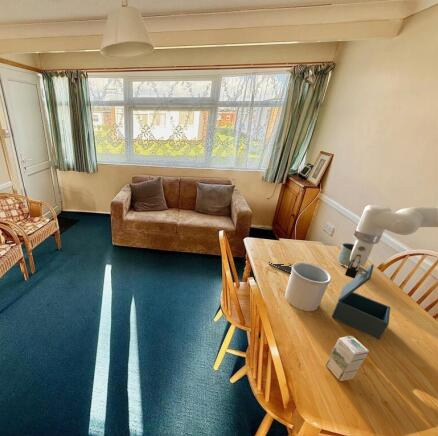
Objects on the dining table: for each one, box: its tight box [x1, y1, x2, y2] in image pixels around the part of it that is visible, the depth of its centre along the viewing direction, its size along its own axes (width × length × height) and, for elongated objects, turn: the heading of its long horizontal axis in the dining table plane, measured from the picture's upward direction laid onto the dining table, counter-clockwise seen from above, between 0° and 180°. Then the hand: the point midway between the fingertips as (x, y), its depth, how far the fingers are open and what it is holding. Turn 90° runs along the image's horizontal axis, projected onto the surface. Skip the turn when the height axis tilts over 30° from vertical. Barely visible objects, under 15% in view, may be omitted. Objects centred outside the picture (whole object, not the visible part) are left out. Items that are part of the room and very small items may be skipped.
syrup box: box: [325, 335, 370, 382], centre depth 77 cm, size 6×6×14 cm
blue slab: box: [337, 263, 375, 302], centre depth 98 cm, size 16×13×6 cm
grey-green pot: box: [337, 242, 355, 266], centre depth 135 cm, size 10×10×12 cm
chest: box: [331, 291, 391, 340], centre depth 98 cm, size 16×13×9 cm
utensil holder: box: [284, 261, 332, 312], centre depth 107 cm, size 15×15×18 cm
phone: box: [268, 261, 293, 274], centre depth 135 cm, size 8×1×15 cm
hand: (350, 273), depth 97 cm, fingers closed on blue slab, 5 cm apart
